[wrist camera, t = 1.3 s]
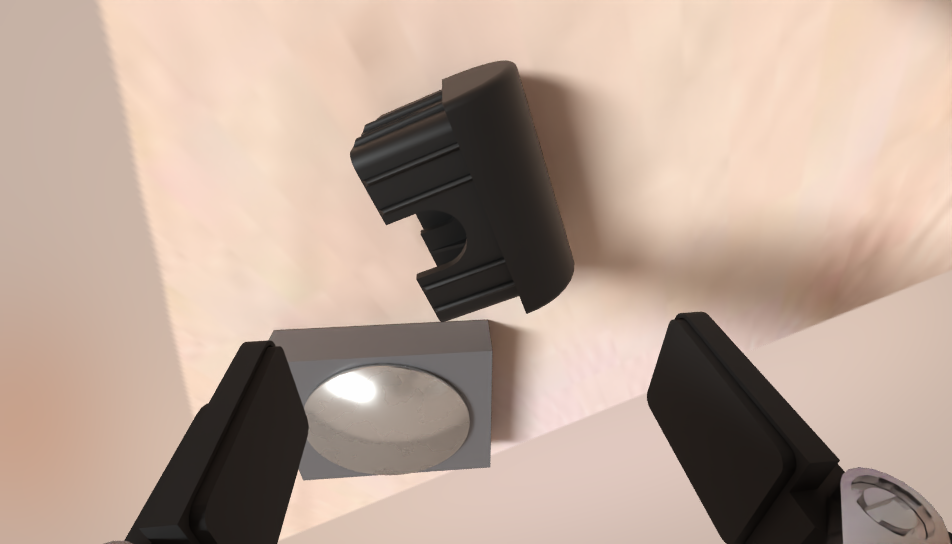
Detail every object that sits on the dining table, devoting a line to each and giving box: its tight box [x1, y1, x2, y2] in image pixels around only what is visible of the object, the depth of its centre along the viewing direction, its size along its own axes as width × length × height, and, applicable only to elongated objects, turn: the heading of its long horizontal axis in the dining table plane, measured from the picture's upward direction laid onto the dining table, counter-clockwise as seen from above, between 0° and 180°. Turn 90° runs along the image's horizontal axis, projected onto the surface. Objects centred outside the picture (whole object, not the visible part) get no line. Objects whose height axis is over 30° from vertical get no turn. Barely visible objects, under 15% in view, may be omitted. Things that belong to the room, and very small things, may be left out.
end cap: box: [350, 61, 574, 322], centre depth 20 cm, size 10×7×7 cm
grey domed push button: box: [268, 320, 492, 480], centre depth 29 cm, size 14×12×3 cm
